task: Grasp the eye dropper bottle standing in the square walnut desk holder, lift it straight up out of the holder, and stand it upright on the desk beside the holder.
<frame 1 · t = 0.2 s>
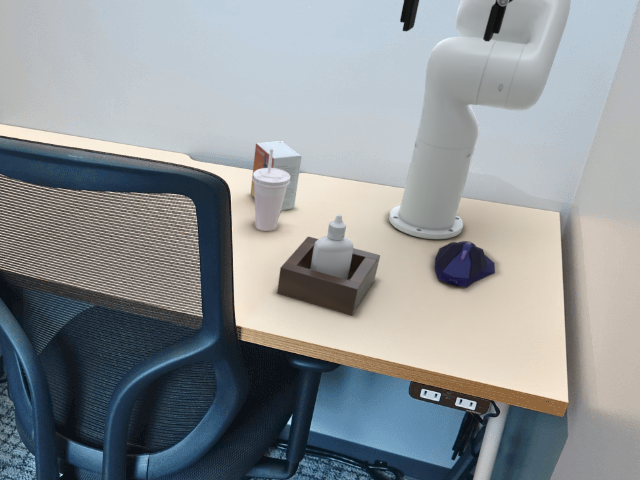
hand: (446, 34, 86), 36 cm above the table, tool pointing down, fingers open, 9 cm apart
smoothie: (265, 227, 123), on the table
small box: (271, 203, 131), on the table
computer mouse: (462, 269, 111), on the table
holder: (326, 286, 106), on the table
eye dropper bottle: (326, 287, 106), resting in holder
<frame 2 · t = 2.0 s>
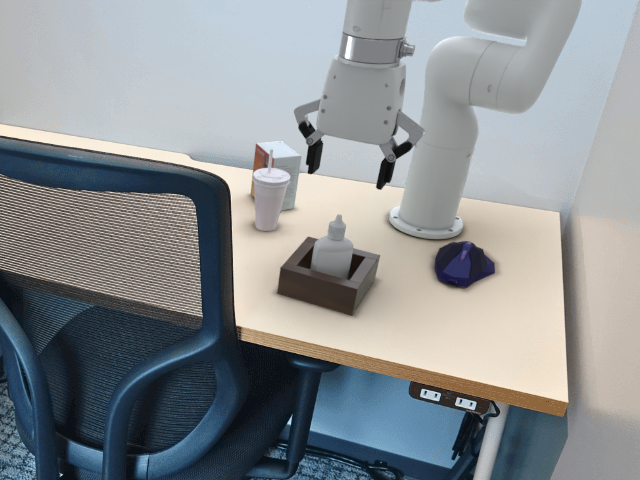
hand: (346, 178, 96), 18 cm above the table, tool pointing down, fingers open, 9 cm apart
nothing on the table moved.
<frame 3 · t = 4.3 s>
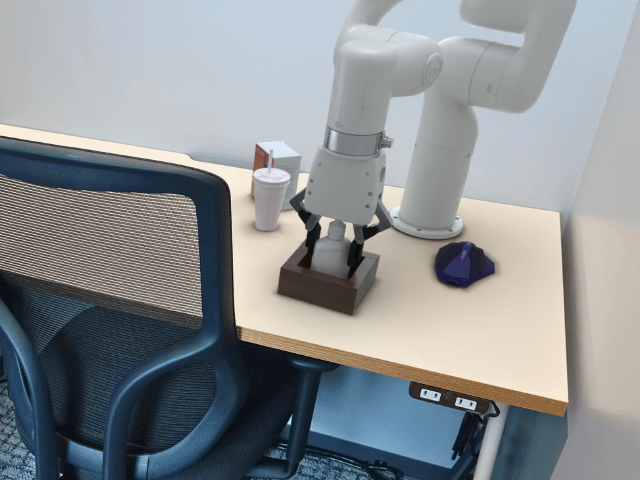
hand: (332, 256, 103), 5 cm above the table, tool pointing down, fingers closed on eye dropper bottle, 5 cm apart
eye dropper bottle: (326, 287, 106), resting in holder, touching gripper
everything else where it was.
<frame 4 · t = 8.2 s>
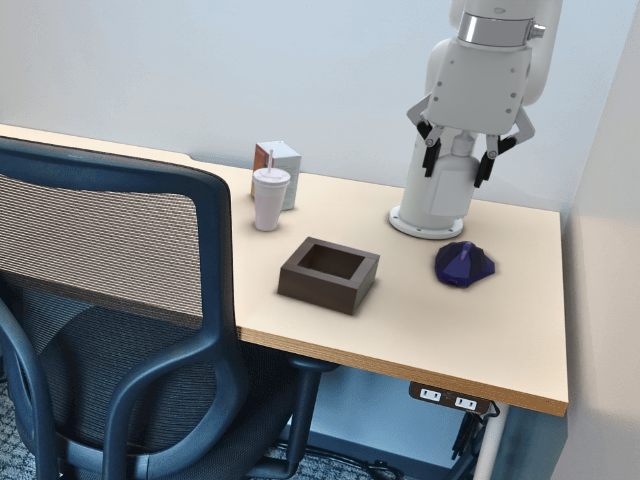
hand: (453, 177, 90), 20 cm above the table, tool pointing down, fingers closed on eye dropper bottle, 5 cm apart
eye dropper bottle: (443, 216, 93), point 15 cm above the table, touching gripper
everything else where it was.
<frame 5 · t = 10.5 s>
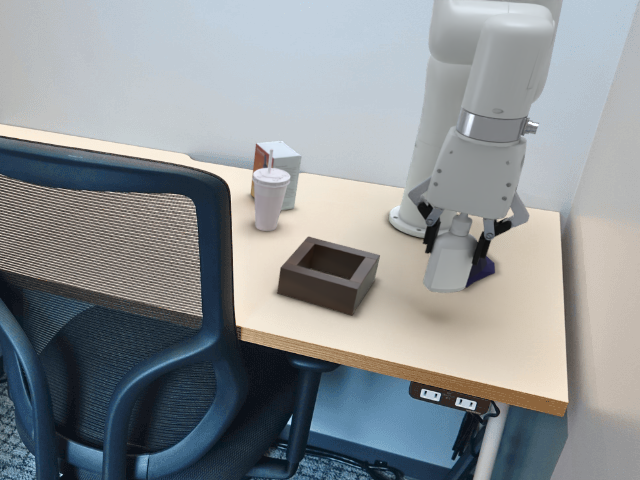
hand: (452, 254, 95), 10 cm above the table, tool pointing down, fingers closed on eye dropper bottle, 5 cm apart
eye dropper bottle: (442, 288, 98), point 4 cm above the table, touching gripper
everything else where it was.
when the fingers open (5 cm above the table, at t = 12.1 s): eye dropper bottle stays where it is, on the table.
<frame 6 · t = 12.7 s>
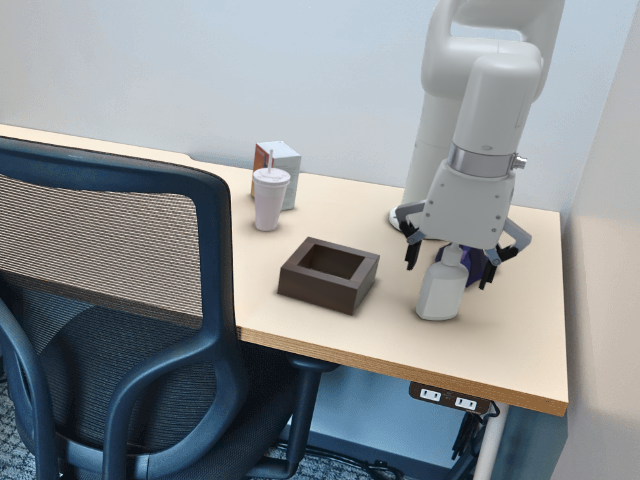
hand: (446, 275, 97), 6 cm above the table, tool pointing down, fingers open, 9 cm apart
eye dropper bottle: (434, 315, 100), on the table
everything else where it was.
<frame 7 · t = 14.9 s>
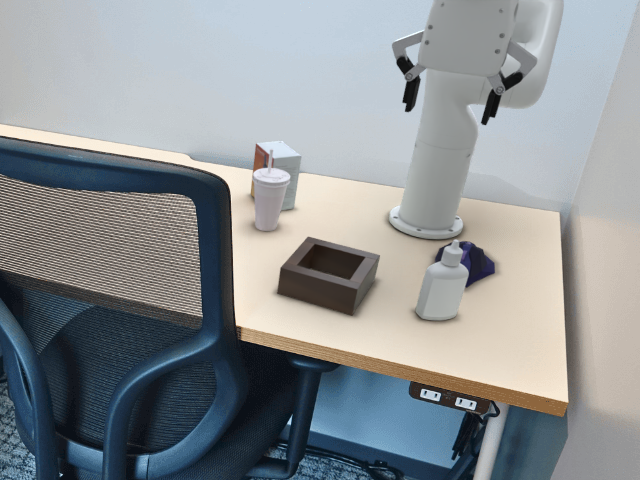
hand: (446, 115, 92), 26 cm above the table, tool pointing down, fingers open, 9 cm apart
nothing on the table moved.
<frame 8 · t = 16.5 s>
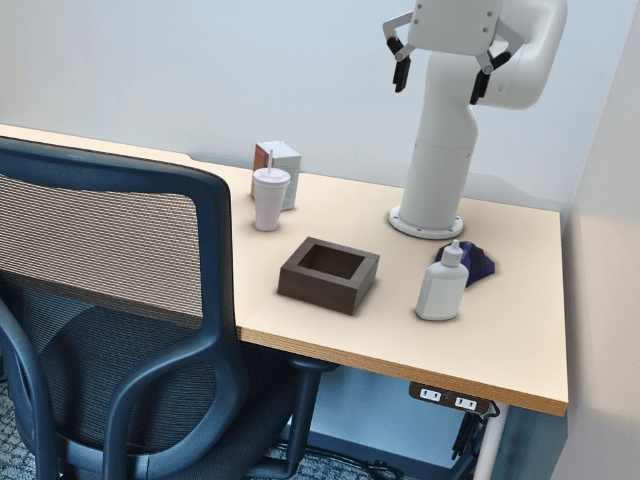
hand: (436, 96, 92), 28 cm above the table, tool pointing down, fingers open, 9 cm apart
nothing on the table moved.
at the end: eye dropper bottle inside the target area (0.1 cm from its centre), on the table; eye dropper bottle tilted 0°; the gripper is holding nothing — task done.
